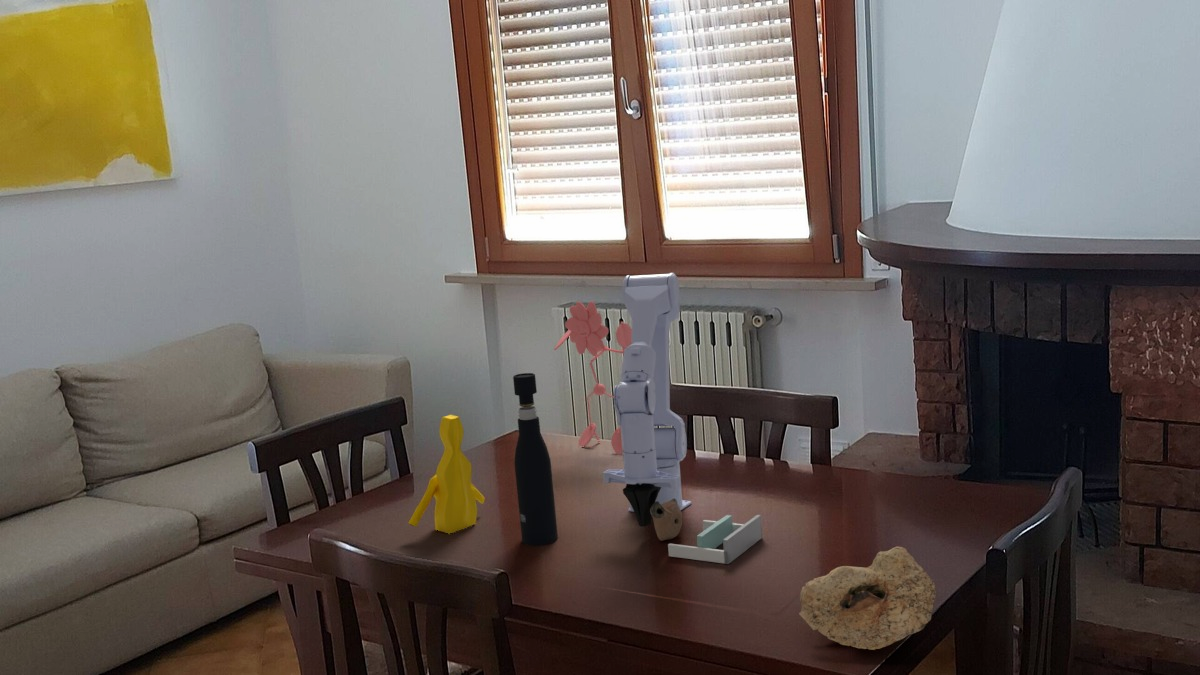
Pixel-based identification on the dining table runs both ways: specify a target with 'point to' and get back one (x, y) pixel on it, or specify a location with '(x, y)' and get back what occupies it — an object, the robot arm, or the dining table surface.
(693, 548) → the pusher lane
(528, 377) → the black water bottle
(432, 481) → the figure statuette
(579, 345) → the figurine
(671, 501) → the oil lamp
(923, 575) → the tan rock
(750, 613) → the dining table surface
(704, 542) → the panel
